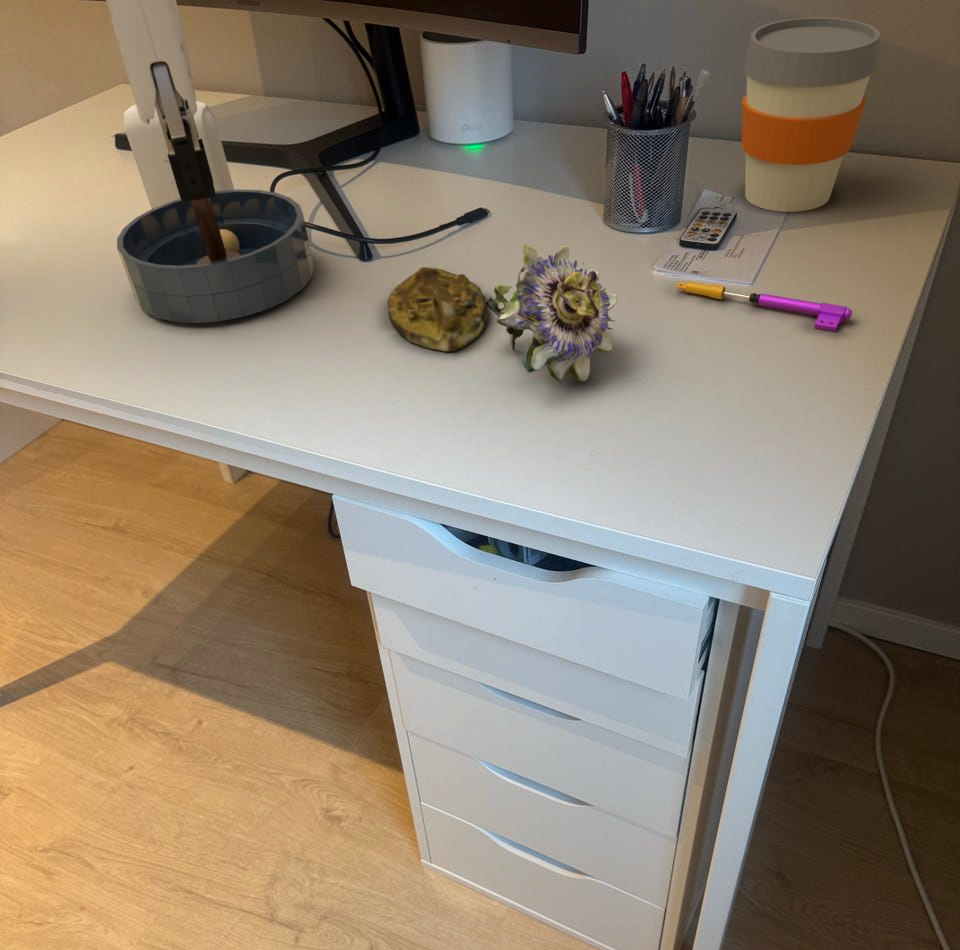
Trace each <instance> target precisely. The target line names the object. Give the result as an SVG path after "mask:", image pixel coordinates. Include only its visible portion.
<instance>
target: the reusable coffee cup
mask: <svg viewBox="0 0 960 950" xmlns="http://www.w3.org/2000/svg"><path fill="white" fill-rule="evenodd" d="M880 38H881V32H880V30H879V29H878V28H877V27H875V26H873V25H872V24H869V23H866V22H862V21H859V20H855V19H848V18H841V17H840V18H839V17H823V16H822V17H819V16H818V17H817V16H816V17H798V18H790V19H784V20H782V19H781V20H778V21H772V22H770V23H766V24H763V25H761V26H759V27H757V28H756V29H754V30H753V31H752V33H751V34H750V37H749V43H748V46H747V50H746V54H745V60H744V65H743V71H744V72H745V74H746V94H744V96H743V97H742V99H741V100H742V105H741V106H742V107H741V108H742V109H741V110H742V111H741V115H742V117H741V119H742V120H741V148H742V150H743V151H744V153H745V182H744V183H745V184H744V197H745V199H746V201H748V202H749V203H750V204H752V205H753V206H756V207H758V208H761V209H764V210H767V211H773V212H784V213H795V212H804V211H811V210H814V209H817V208H820V207H822V206H824V205H826V204H827V203H828V202H829V200H830V198H831V195H832V192H833V189H834V187H835V183H836V180H837V177H838V174H839V171H840V168H841V164H842V162H843V158H844V156H845V155H846V154H848V152H850V150H851V147H852V144H853V141H854V138H855V136H856V132H857V129H858V127H859V123H860V120H861V117H862V115H863V111H864V109H865V105H866V102H867V99H866V96H865V93H866V89H867V86H868V84H869V80H870V77H871V75H872V74H873V73H874V72H876V69H877V63H878V56H879V48H880V47H879V46H880Z"/></svg>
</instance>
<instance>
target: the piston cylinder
mask: <svg viewBox="0 0 960 950" xmlns="http://www.w3.org/2000/svg"><path fill="white" fill-rule="evenodd" d="M676 289H677V290H683V291H685V293H688V294H689V293H690V294H693V295H700V296H705V297H709V298H710V299H716V300H723V299H724V297H725V295H726V296H732V297H736V298H743V299H748V302H749V303H751V304H756V305H758V306H762V307H768V308H773V309H780V310H785V311H789V312H790V311H791V312H797V313H803V314H808V315H812V316H813V315H814V316H817V319H816V320H815V323H814V327H813V328H814V329H820V330H824V331H830V332H836V331H837V329H838V327H839V325H842V324H843V322H844V321H848V320H850V319H851V318H852V316H853V310H852V309H851V307H847V306H846V305H839V304H832V303H829V302H828V303H827V302H822V303H820V302H815V301H808V300H802V299H798V298H791V297H785V296H779V295H773V294H767V293H758V294H757V293H756V292H754V293H753V292H752V293H750V295H746V294H745V295H744V294H740V293H733V292H727V291H726V286H725V285H719V284H718V285H717V284H713V283H712V284H708V283H707V284H706V283H700V282H695V281H687V282H682V281H678V282H677V285H676Z"/></svg>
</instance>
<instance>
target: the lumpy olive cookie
mask: <svg viewBox="0 0 960 950" xmlns="http://www.w3.org/2000/svg"><path fill="white" fill-rule="evenodd" d="M486 302H487V298H486V296H485V295H484V294H483V292H482V290H481V288H480V286H478V285H477V284H476V283H475V282H473V281H471V280H469V277H468V276H467V275H466V274H464V273H459V274H457V273H452V272H450V271H447V270H444V269H442V268H437V267H429V266H428V267H427V266H422V267H420V268H419V269H417V270H416V271H415V272H413V274H412V275H410V276H409V277H407V278H406V279H405V280H404V281H402V282H400V283H399V284H397V286H395V288H393V290H392V291H391V293H390V294H389V296H388V298H387V314H388V318H389V321H390V323H391V324H392V326H393V328H394V329H395V330H396V331H397V333H399V334H400V335H401V336H402V337H404V338H405V340H407V341H408V342H410V343H413V344H415V345H417V346H420V347H422V348H425V349H430V350H435V351H439V352H440V351H442V352H455V351H458V350H461V349H462V348H464V347H466V345H468V344H470V343H472V342H474V341H475V340H476V339H477V338H478V337H480V335H481V334H482V332H483V331H484V330H485V328H486V326H487V324H488V321H489V312H488V306H487V305H486Z"/></svg>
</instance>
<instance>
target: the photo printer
mask: <svg viewBox="0 0 960 950" xmlns="http://www.w3.org/2000/svg"><path fill="white" fill-rule="evenodd" d="M196 104H197V112H196V113H195V115H194V116H193V117H194V121H195V124H196V128H197V132H198V136H199V138H198V139H202V141H203V145H204V148H205V152H206V156H207V159H208V163H209V167H210V171H211V174H212V178H213V183H214V184H213V185H214V189H215V191H224V190H235V187H234V184H233V179H232V175H231V172H230V169H229V168H230V167H229V164H228V161H227V158H226V157H227V156H226V154H225V150H224V146H223V143H222V139H221V135H220V131H219V128H218V124H217V122H216V121H217V120H216V117H215V114H214V113H213V110H212V109H211V107H210V106H209V104H207V103H204V102H201V101H198V100H196ZM123 124H124V126H123V127H124V130H125V135H126V137H127V140H128V143H129V147H130V149H131V152H132V156H133V158H134V161H135V164H136V166H137V167H136V168H137V170H138V172H139V176H140V179H141V182H142V185H143V187H144V191H145V194H146V196H147V200H148V202H149V205H150V208H151V209H153V208H156V207H158V206H161V205H163V204H166V203H168V202H171V201H174V200H178V199H181V198H180V195H179V192H178V189H177V185H176V182H175V179H174V175H173V172H172V169H171V165H170V162H169V159H168V154H169V152H168V149H167V144H166V141H165V138H164V134H163V131H162V128H161V124H160V123H159V118H158V114H157V111H156V108H155V113H154V119H149V124H145V123H144V122H142V121H141V120H140V117H139V113H138V110H137V106H136V103H134V104H133V105H131V106H130V107H128V108H127V109H126V110H125V111H124V113H123Z"/></svg>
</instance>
